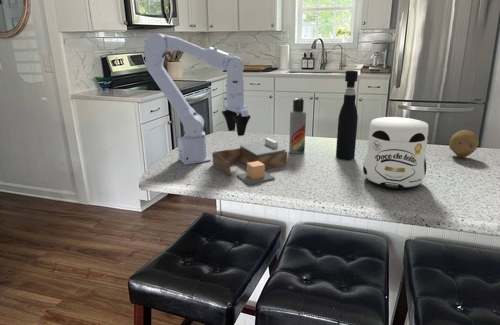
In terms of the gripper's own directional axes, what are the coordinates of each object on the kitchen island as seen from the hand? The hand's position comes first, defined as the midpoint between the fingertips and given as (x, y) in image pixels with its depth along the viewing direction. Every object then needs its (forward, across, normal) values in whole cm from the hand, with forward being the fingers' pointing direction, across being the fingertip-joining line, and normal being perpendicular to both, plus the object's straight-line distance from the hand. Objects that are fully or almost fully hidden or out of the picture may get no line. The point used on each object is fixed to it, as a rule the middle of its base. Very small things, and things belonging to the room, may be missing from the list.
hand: (236, 132), depth 129 cm
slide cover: (+5, -8, -6) cm, 11 cm away
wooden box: (+9, -8, -1) cm, 12 cm away
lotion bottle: (+10, -4, -23) cm, 25 cm away
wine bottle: (+10, -18, -34) cm, 40 cm away
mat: (+9, -20, +3) cm, 22 cm away
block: (+9, -20, +3) cm, 22 cm away
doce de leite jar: (+10, -42, -31) cm, 53 cm away
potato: (+10, -38, -69) cm, 79 cm away
